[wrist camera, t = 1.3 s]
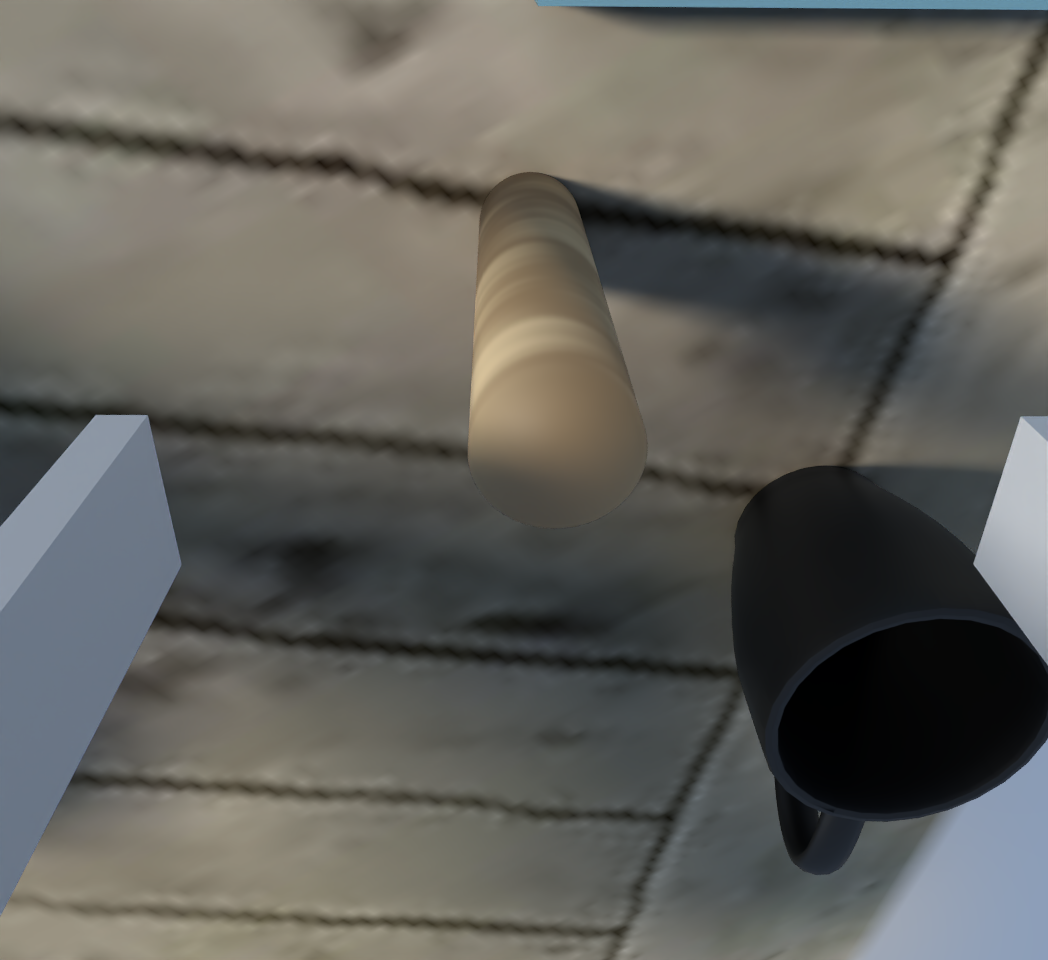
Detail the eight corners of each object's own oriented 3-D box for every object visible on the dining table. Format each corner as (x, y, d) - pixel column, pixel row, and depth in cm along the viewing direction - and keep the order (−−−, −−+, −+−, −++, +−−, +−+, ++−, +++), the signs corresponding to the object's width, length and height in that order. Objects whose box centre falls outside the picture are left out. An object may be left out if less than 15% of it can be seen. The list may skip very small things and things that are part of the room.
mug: (645, 676, 37) (688, 889, 29) (737, 413, 31) (825, 586, 23) (837, 701, 38) (932, 913, 30) (963, 450, 32) (1125, 630, 24)
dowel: (480, 273, 28) (469, 529, 16) (478, 172, 26) (465, 371, 14) (578, 273, 28) (640, 528, 16) (582, 172, 27) (655, 370, 14)
